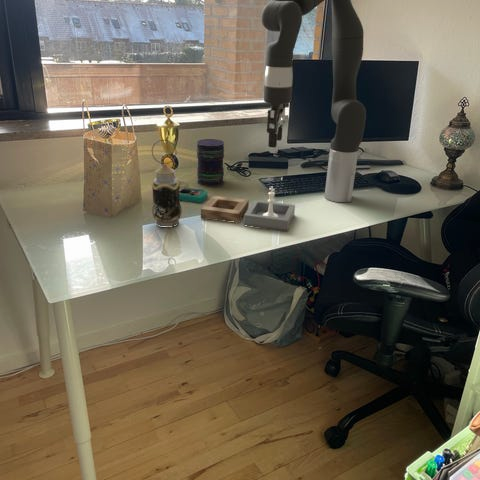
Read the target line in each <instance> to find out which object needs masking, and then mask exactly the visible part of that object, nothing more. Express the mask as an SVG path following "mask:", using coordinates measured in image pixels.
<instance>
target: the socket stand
mask: <svg viewBox="0 0 480 480" xmlns="http://www.w3.org/2000/svg"><path fill="white" fill-rule="evenodd" d="M249 203H250V200H249V199H243V198H234V197H227V196H219V195H212V197H211V198H209V199H208V201H207V202H206V203H205V204H204V205H203V206H201V208H200V218H201V219H205V218H209V219H208V220H213V219H217V220H216V221H220V220H225V221H224V222H227V221H234V222H233V223H235V222H239V221H240V222H241V220H242V219H243V218H244V214H245V213H246V212H247V210H248V209H249V207H250V206H249V205H250V204H249ZM241 218H242V219H241ZM240 222H239V223H240Z"/></svg>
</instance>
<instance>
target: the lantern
mask: <svg viewBox="0 0 480 480" xmlns="http://www.w3.org/2000/svg"><path fill="white" fill-rule="evenodd" d="M164 141H165V142H169V144H171V145H172V146H173V147H174V151H175V155H174V157H173V158H172V160H171V161H169V162H161V161H158V160H157V158H155V155H154V154H153V153H154V151H153V150H154V147H155V145H156V144H157V143H159V142H164ZM151 155H152V157H153V159H154V160H155V161H156V162H157V163H159V164H162V166H160V167H159V168H158V169H157V168H156V170H155V174H156V178H154V179H153V180H151V188H152V208H151V213H152V217H153V219H154V220H155V223H156V224H158V225H160V226H174V225H176V224H179V220H180V219H181V216H182V214H183V213H182V212H183V210H182V204H181V200H180V198H179V189H180V187H181V184H180V182H179V180H178V178H176V177H175V174H174V173H175V172H176V171H175V169H173V168H171V167H170V166H169V165H168V164H170V163H172V162H174V161H175V159H176V156H177V149H176V146H175V145H174V144H173V143H172V141H170V140H167V139H160V140H158V141H156V142H155V143H154V144H153V145H152V148H151Z"/></svg>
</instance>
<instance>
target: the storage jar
mask: <svg viewBox="0 0 480 480" xmlns="http://www.w3.org/2000/svg"><path fill="white" fill-rule="evenodd" d="M224 153H225V142H224V141H223V140H220V139H217V138H216V139H215V138H214V139H213V138H207V139H206V138H205V139H199V140H197V141H196V157H197V172H196V176H197V183H198V184H199V185H201V186H204V187H218V186H221V185H223V184H224V176H225V173H224V171H225V170H224V169H225V168H224V158H225V157H224V156H225V154H224Z"/></svg>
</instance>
